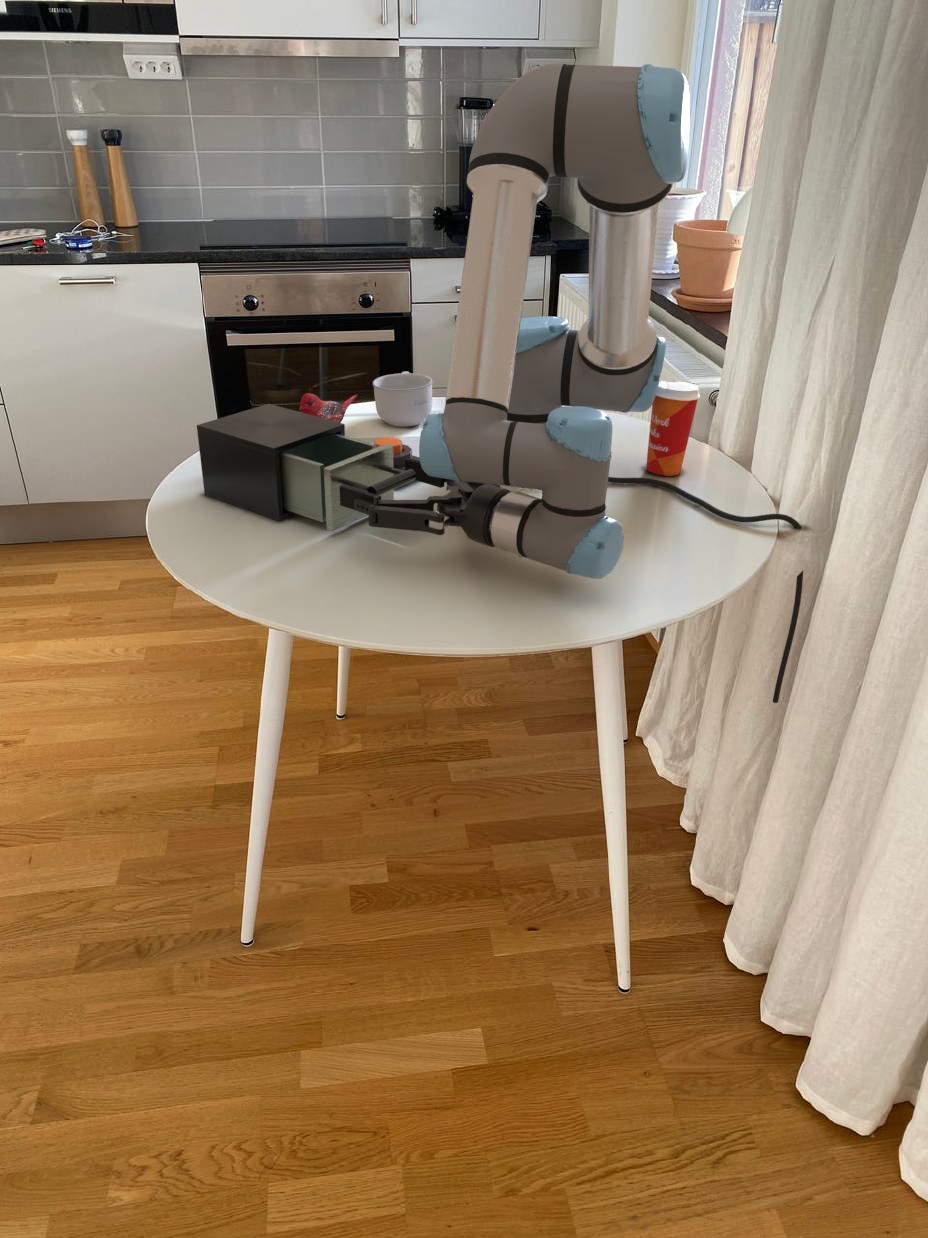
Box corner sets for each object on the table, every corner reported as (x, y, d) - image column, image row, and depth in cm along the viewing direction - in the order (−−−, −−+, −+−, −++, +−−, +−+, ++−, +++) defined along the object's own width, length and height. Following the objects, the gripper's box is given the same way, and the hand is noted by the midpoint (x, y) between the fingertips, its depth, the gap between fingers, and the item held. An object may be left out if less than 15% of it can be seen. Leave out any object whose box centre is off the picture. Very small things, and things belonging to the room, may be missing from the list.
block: (432, 473, 151) (433, 449, 149) (397, 489, 144) (397, 464, 142) (380, 458, 156) (380, 435, 154) (344, 473, 150) (343, 449, 148)
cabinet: (347, 492, 143) (344, 423, 138) (279, 521, 133) (273, 448, 127) (273, 469, 151) (268, 403, 145) (204, 495, 140) (196, 424, 135)
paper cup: (634, 462, 158) (647, 378, 151) (678, 463, 159) (693, 380, 152) (646, 477, 151) (660, 390, 144) (692, 478, 152) (708, 392, 145)
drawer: (426, 513, 134) (426, 454, 130) (366, 543, 125) (364, 480, 120) (320, 480, 144) (318, 424, 140) (257, 505, 135) (252, 446, 131)
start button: (408, 451, 149) (407, 441, 148) (390, 458, 146) (390, 448, 145) (386, 445, 151) (386, 435, 150) (368, 452, 148) (368, 442, 147)
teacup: (424, 433, 169) (424, 389, 165) (366, 428, 170) (365, 384, 167) (441, 411, 181) (442, 370, 177) (387, 406, 182) (386, 365, 179)
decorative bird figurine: (295, 454, 157) (291, 395, 152) (351, 426, 171) (349, 371, 166) (309, 457, 156) (306, 398, 151) (365, 428, 170) (363, 373, 165)
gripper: (443, 581, 111) (313, 534, 121) (553, 517, 129) (430, 481, 139) (444, 522, 107) (310, 479, 118) (557, 464, 125) (431, 432, 135)
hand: (375, 480), depth 128 cm, fingers open, 13 cm apart
